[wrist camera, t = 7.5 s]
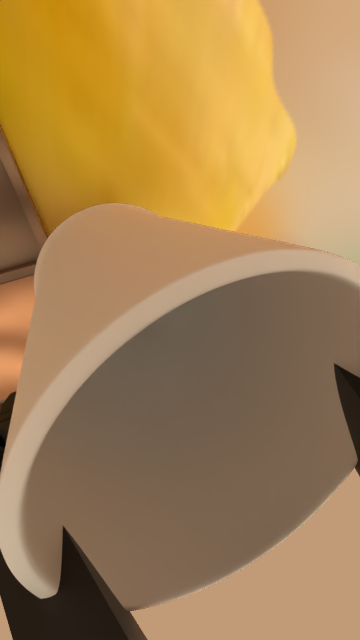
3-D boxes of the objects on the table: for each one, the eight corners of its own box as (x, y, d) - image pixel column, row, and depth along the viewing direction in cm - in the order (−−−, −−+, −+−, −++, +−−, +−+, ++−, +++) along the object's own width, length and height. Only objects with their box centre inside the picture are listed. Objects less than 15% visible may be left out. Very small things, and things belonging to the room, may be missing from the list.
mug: (168, 393, 20) (287, 606, 9) (32, 404, 16) (-10, 767, 6) (205, 220, 16) (477, 269, 6) (36, 184, 12) (-70, 129, 2)
